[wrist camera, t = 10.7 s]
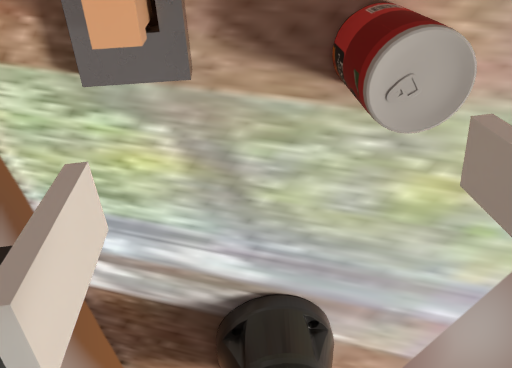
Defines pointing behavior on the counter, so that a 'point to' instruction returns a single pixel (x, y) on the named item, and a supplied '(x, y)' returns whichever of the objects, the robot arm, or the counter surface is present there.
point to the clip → (117, 22)
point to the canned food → (404, 66)
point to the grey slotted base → (133, 49)
